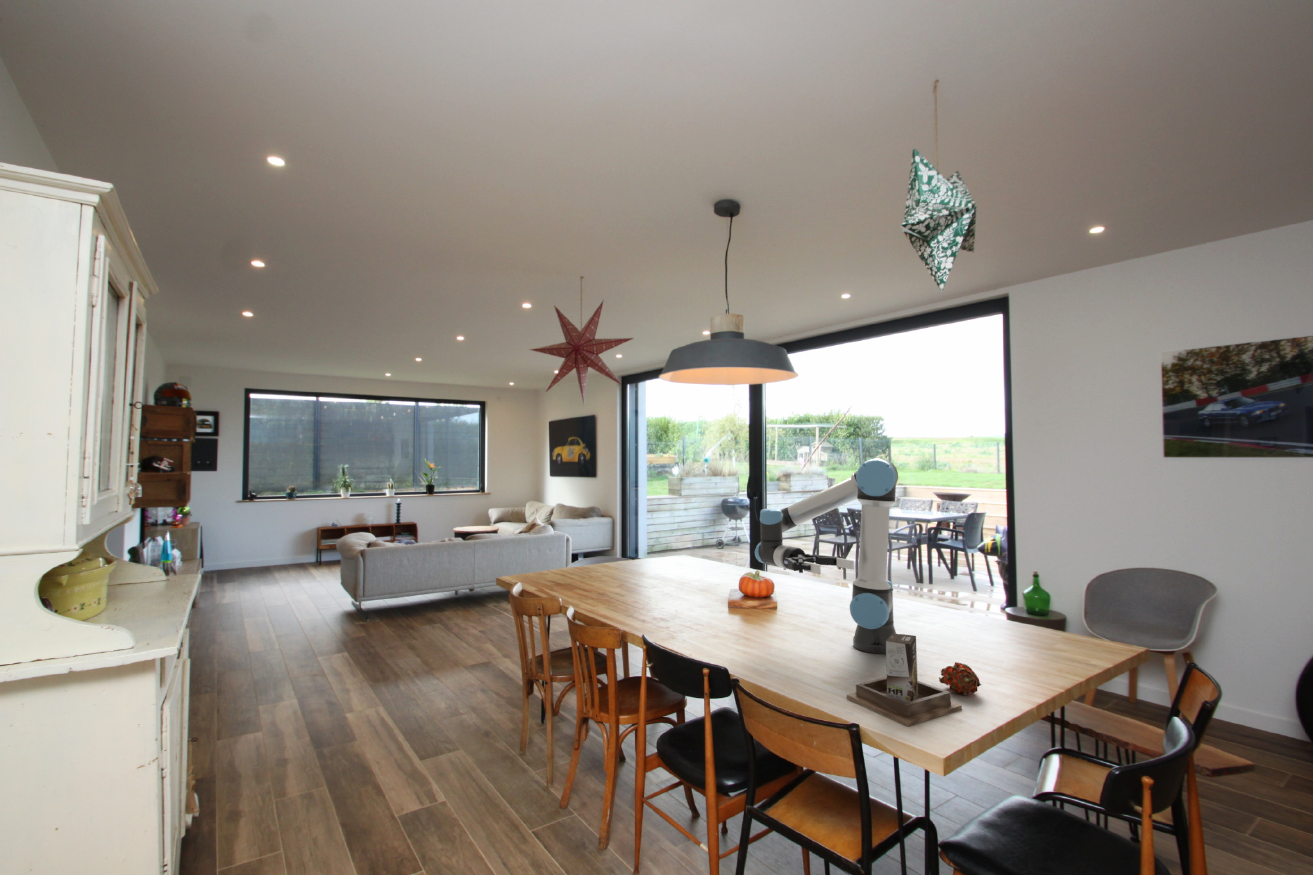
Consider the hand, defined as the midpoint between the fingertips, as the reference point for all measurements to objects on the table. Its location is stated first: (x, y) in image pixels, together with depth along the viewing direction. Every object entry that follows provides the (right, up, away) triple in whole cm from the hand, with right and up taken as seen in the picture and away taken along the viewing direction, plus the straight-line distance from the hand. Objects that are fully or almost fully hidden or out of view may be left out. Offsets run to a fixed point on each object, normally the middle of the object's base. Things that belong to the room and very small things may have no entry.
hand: (836, 567), depth 184 cm
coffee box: (+10, -30, -24) cm, 40 cm away
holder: (+10, -31, -24) cm, 40 cm away
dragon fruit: (+29, -31, -16) cm, 46 cm away
